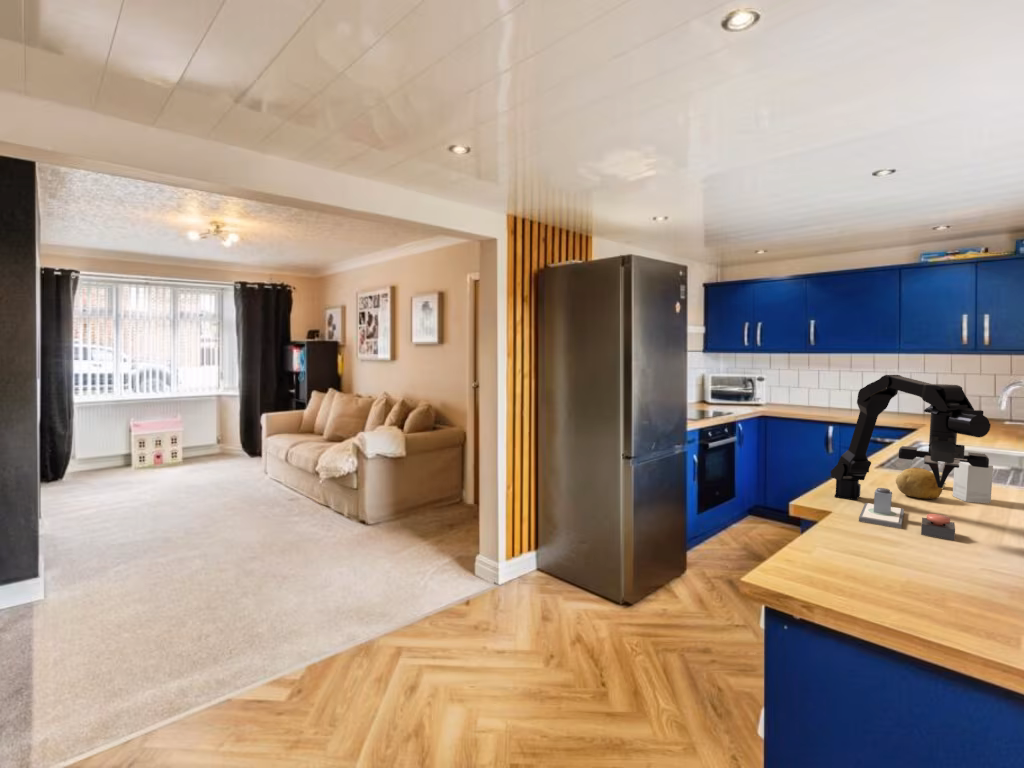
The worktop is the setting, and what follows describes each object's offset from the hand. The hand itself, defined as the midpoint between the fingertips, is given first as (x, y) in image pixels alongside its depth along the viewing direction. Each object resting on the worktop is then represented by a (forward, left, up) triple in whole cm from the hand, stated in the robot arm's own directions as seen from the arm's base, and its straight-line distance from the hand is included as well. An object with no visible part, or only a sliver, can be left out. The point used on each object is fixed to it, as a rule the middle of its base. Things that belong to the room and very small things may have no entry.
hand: (939, 487), depth 143 cm
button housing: (0, 0, -13) cm, 13 cm away
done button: (0, 0, -12) cm, 12 cm away
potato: (-5, +41, -13) cm, 43 cm away
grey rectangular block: (-13, +8, -12) cm, 19 cm away
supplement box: (+9, +48, -13) cm, 51 cm away
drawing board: (-13, +8, -13) cm, 20 cm away
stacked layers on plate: (-1, +61, -14) cm, 62 cm away
